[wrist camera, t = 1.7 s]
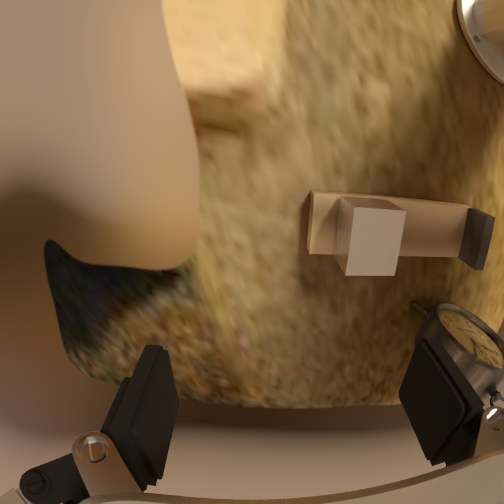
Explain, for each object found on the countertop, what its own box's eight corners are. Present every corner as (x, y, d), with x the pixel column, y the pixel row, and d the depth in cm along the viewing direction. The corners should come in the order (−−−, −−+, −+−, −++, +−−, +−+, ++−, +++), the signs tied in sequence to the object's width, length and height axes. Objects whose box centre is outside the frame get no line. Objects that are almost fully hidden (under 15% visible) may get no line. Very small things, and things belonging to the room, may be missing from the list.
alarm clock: (475, 307, 29) (552, 394, 14) (452, 344, 31) (516, 436, 16) (412, 286, 28) (501, 396, 13) (388, 329, 30) (453, 449, 15)
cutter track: (310, 190, 25) (322, 201, 21) (467, 205, 25) (495, 217, 21) (306, 247, 27) (315, 268, 23) (458, 252, 27) (482, 269, 23)
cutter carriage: (339, 196, 23) (354, 207, 20) (392, 199, 23) (412, 211, 20) (333, 255, 25) (345, 275, 22) (383, 256, 25) (401, 275, 22)
